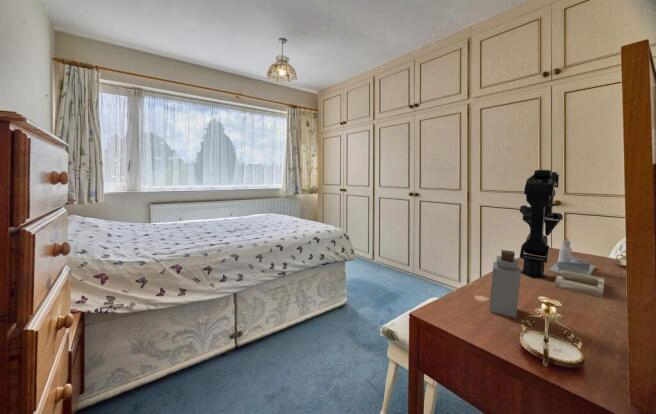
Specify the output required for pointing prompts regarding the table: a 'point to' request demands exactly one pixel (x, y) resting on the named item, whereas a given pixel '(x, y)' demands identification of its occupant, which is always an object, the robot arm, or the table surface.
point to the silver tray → (573, 266)
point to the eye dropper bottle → (565, 252)
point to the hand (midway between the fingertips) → (540, 236)
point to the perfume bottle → (505, 285)
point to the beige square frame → (578, 286)
